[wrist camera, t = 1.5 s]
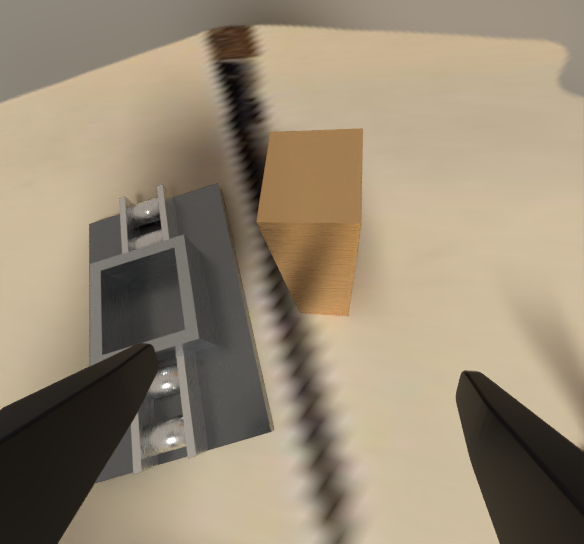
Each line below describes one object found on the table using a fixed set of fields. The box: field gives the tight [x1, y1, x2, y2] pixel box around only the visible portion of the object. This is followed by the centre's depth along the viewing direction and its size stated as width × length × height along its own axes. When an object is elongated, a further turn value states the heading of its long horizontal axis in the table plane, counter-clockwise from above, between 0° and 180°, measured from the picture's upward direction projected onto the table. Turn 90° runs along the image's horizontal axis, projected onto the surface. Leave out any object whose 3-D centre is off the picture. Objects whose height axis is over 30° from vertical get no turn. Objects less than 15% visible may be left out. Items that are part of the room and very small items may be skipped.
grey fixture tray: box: [89, 183, 274, 483], centre depth 22 cm, size 20×12×4 cm, turn 15°
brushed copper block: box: [256, 129, 363, 316], centre depth 17 cm, size 4×4×13 cm
